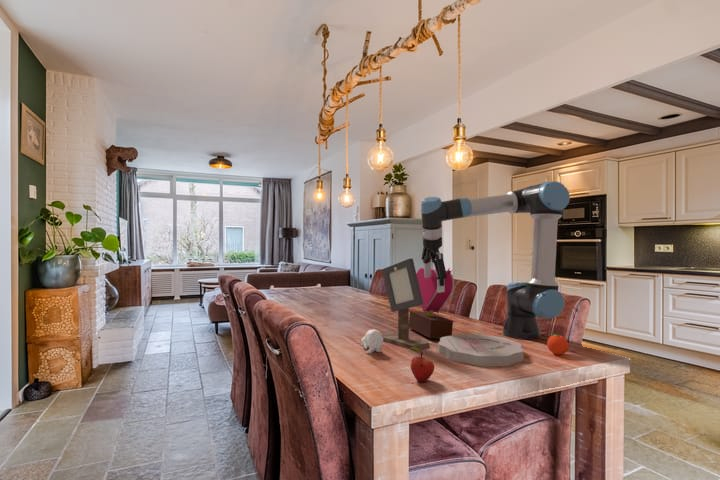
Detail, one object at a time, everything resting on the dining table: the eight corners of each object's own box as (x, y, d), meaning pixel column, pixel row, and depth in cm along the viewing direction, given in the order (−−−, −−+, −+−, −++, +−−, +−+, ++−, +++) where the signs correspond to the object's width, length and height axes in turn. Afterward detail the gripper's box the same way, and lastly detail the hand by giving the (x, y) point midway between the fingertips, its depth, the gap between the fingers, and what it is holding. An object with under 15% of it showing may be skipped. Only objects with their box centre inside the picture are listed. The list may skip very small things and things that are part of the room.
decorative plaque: (431, 333, 155) (505, 333, 154) (431, 342, 155) (505, 342, 154) (447, 355, 125) (538, 356, 124) (447, 366, 125) (539, 367, 124)
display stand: (429, 346, 147) (429, 265, 148) (415, 350, 142) (415, 266, 142) (389, 335, 164) (389, 263, 165) (376, 338, 159) (376, 264, 159)
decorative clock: (455, 340, 156) (462, 268, 157) (433, 340, 153) (439, 266, 154) (427, 327, 180) (433, 264, 181) (407, 327, 177) (414, 263, 178)
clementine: (540, 351, 141) (540, 332, 141) (556, 350, 142) (556, 331, 142) (557, 358, 133) (556, 337, 133) (573, 356, 135) (573, 336, 135)
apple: (426, 375, 116) (426, 342, 116) (438, 383, 109) (438, 348, 110) (404, 378, 113) (404, 345, 113) (415, 386, 107) (415, 351, 107)
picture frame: (423, 304, 143) (412, 258, 147) (419, 305, 141) (408, 258, 146) (395, 311, 155) (385, 269, 159) (390, 312, 153) (381, 269, 158)
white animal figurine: (368, 331, 136) (356, 327, 147) (369, 355, 135) (356, 349, 146) (384, 329, 139) (371, 326, 150) (385, 353, 138) (371, 348, 149)
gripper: (412, 228, 159) (415, 273, 167) (436, 250, 136) (438, 300, 144) (429, 225, 160) (430, 269, 168) (455, 246, 138) (456, 296, 146)
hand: (434, 284), depth 156 cm, fingers open, 13 cm apart
